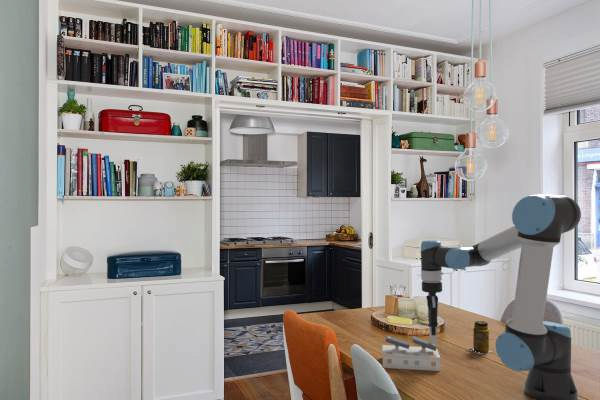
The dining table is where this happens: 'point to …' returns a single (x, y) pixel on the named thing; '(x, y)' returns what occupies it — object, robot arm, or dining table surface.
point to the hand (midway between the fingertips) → (433, 342)
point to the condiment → (480, 338)
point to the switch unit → (411, 358)
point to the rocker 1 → (397, 342)
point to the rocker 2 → (424, 343)
